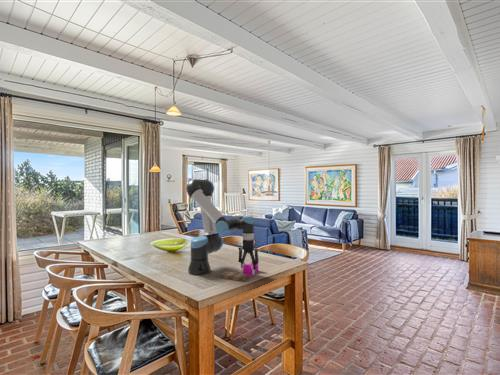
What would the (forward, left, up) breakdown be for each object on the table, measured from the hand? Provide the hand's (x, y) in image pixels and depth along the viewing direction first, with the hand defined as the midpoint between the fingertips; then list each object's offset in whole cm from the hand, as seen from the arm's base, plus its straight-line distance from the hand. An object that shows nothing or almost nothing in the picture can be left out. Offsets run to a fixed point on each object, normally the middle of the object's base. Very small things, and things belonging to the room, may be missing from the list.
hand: (248, 273), depth 185 cm
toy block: (0, +2, -1) cm, 2 cm away
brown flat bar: (-5, -11, 0) cm, 12 cm away
